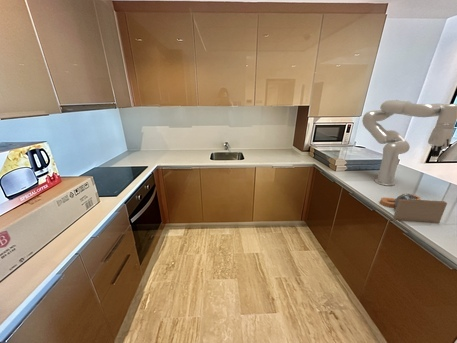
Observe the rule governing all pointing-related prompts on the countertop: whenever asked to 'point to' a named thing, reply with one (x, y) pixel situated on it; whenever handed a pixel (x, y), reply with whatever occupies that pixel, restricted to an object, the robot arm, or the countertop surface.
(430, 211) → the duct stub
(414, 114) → the robot arm
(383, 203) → the bracket
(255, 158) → the countertop surface
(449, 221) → the countertop surface
